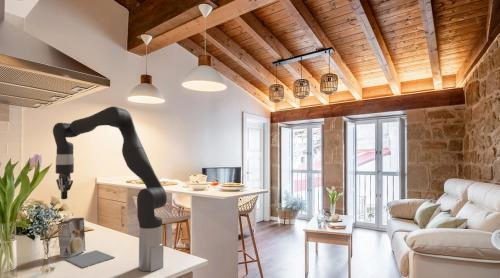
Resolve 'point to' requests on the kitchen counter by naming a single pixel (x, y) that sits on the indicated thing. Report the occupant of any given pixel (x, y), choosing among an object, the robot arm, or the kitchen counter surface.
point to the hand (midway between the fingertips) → (64, 198)
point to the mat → (89, 258)
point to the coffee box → (71, 237)
